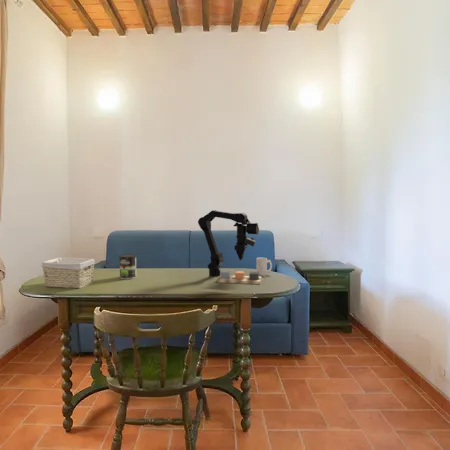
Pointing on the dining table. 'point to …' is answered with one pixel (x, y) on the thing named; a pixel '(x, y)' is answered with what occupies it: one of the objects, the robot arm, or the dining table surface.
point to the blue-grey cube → (225, 274)
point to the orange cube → (239, 275)
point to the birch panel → (239, 280)
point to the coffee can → (128, 266)
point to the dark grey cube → (254, 276)
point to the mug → (263, 266)
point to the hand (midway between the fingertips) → (241, 259)
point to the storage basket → (68, 272)
